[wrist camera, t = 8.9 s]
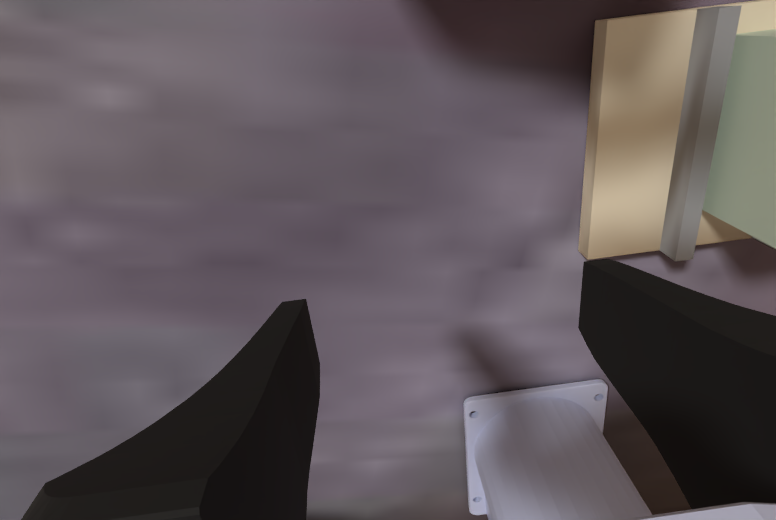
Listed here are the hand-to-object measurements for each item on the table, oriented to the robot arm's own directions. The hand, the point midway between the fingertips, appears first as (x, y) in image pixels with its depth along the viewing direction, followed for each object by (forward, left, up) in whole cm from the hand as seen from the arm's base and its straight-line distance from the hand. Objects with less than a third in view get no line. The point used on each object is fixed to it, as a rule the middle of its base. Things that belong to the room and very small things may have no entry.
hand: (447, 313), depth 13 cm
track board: (+1, -14, -10) cm, 17 cm away
